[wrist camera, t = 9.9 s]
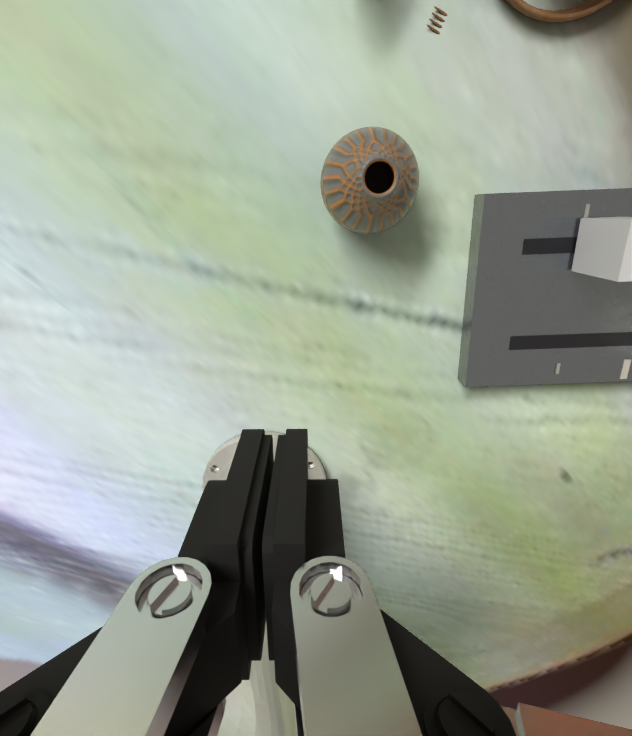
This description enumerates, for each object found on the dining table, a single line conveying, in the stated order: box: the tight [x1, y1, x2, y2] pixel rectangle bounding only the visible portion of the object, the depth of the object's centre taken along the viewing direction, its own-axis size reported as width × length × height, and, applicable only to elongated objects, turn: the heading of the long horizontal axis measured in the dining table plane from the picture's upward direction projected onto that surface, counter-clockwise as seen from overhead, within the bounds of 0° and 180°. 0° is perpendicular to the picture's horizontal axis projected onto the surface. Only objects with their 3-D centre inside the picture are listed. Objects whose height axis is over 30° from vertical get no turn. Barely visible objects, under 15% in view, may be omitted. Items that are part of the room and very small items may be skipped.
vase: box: [321, 127, 419, 234], centre depth 29 cm, size 7×7×9 cm
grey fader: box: [571, 217, 632, 282], centre depth 30 cm, size 4×3×6 cm
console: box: [458, 188, 632, 387], centre depth 35 cm, size 16×24×2 cm, turn 92°
